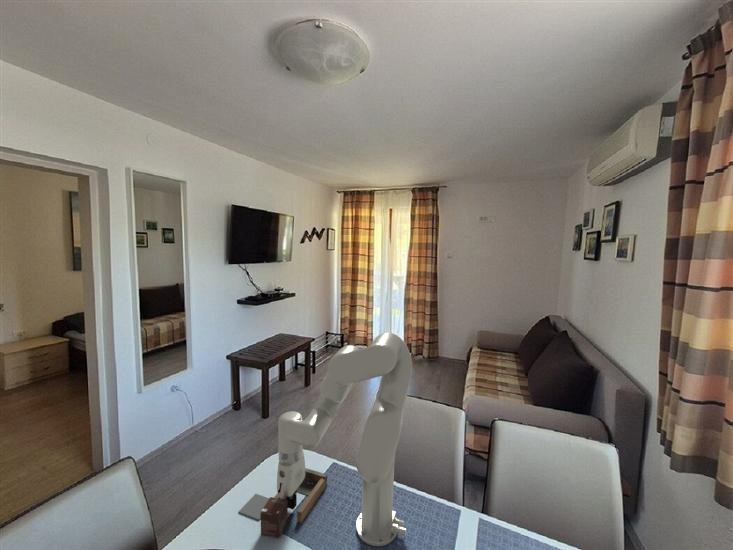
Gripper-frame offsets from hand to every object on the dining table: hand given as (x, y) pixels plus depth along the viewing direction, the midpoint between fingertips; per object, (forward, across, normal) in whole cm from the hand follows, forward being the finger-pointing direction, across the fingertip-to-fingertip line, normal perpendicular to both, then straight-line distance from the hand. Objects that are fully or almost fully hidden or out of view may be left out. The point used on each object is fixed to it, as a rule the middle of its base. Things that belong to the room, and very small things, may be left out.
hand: (290, 506), depth 101 cm
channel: (+1, +6, 0) cm, 6 cm away
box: (+2, -7, +1) cm, 7 cm away
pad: (+1, -2, +11) cm, 11 cm away
